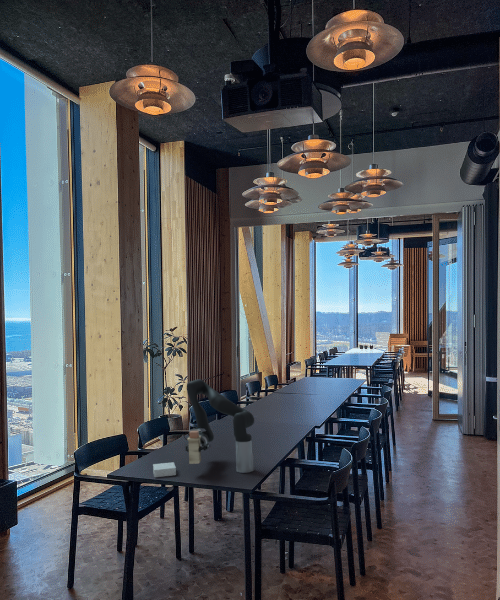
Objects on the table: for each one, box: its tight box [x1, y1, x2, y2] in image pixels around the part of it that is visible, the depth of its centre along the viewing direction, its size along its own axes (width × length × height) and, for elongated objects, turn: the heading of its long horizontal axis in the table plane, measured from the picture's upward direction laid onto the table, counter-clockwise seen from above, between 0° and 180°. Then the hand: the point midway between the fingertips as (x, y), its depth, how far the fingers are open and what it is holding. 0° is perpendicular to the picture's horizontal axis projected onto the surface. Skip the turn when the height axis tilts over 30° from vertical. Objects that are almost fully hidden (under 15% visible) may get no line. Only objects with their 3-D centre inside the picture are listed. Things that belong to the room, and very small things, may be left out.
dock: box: [152, 461, 177, 478], centre depth 282 cm, size 12×12×4 cm
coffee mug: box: [183, 428, 202, 441], centre depth 347 cm, size 12×9×10 cm
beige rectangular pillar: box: [186, 436, 202, 465], centre depth 278 cm, size 6×6×14 cm
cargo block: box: [188, 431, 199, 438], centre depth 279 cm, size 4×4×3 cm
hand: (193, 450), depth 276 cm, fingers closed on beige rectangular pillar, 5 cm apart
